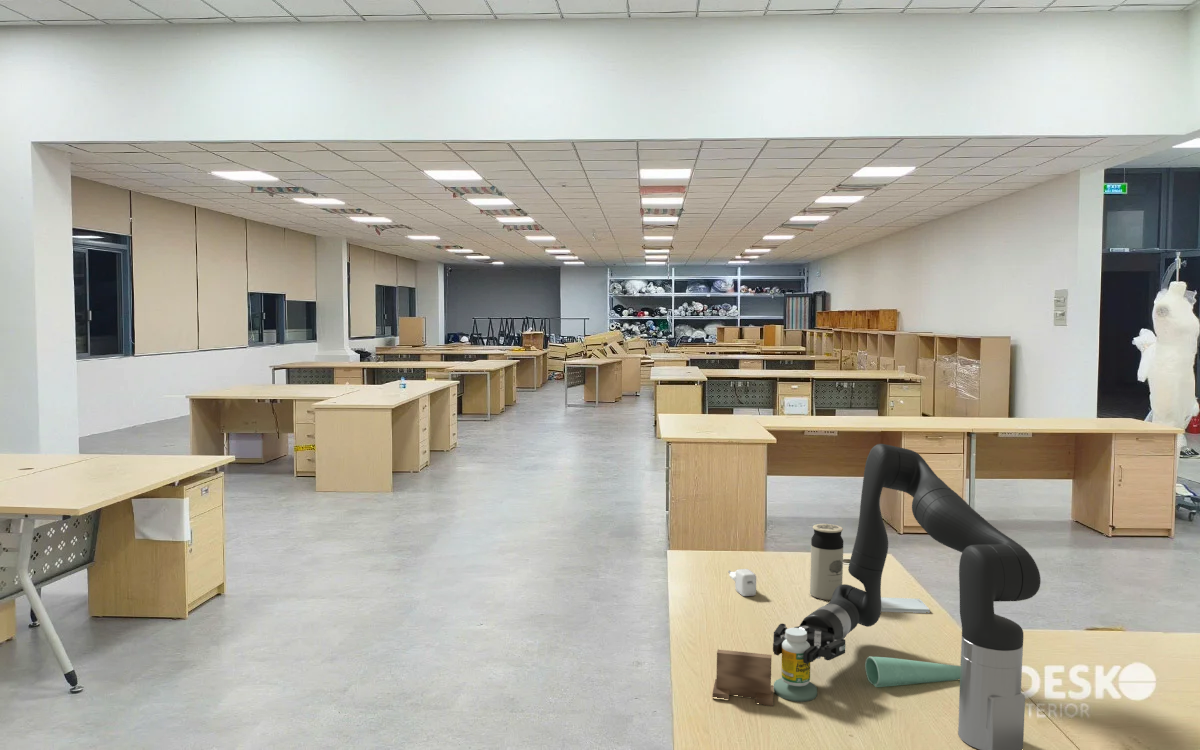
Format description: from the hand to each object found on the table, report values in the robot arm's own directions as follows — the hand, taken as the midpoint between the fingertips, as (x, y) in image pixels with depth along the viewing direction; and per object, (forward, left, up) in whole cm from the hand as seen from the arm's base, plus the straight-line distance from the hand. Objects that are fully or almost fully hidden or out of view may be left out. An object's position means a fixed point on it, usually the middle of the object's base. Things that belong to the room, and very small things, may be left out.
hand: (790, 654), depth 149 cm
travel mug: (+51, -34, -8) cm, 62 cm away
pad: (+2, -2, -8) cm, 9 cm away
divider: (+2, +8, -8) cm, 12 cm away
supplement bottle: (+2, -2, -6) cm, 7 cm away
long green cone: (+2, -32, -9) cm, 33 cm away
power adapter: (+59, -14, -8) cm, 61 cm away
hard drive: (+40, -48, -9) cm, 64 cm away
